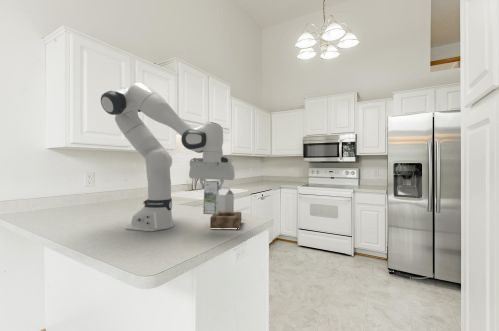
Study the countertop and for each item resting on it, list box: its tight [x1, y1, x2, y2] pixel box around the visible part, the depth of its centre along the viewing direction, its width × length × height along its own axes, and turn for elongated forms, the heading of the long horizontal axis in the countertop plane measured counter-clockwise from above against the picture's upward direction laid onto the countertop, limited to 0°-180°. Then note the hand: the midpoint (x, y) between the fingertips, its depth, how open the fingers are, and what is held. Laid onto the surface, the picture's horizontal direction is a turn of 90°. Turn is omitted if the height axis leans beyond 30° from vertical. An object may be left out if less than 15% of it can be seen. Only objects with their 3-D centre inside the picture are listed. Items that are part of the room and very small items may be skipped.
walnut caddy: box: [209, 211, 242, 229], centre depth 124 cm, size 14×14×6 cm
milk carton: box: [218, 186, 235, 212], centre depth 137 cm, size 7×7×19 cm
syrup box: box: [202, 180, 220, 215], centre depth 107 cm, size 6×6×14 cm
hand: (211, 189), depth 107 cm, fingers closed on syrup box, 6 cm apart
